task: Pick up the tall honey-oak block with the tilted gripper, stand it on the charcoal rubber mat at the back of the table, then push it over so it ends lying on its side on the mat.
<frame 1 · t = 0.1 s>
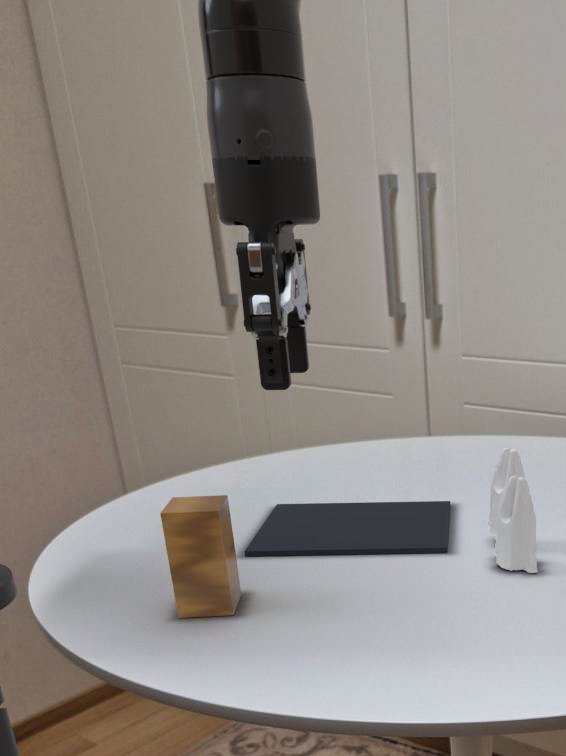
hand: (287, 380, 72), 21 cm above the table, tool pointing down, fingers open, 8 cm apart
rubber mat: (355, 528, 105), on the table
shaker set: (512, 556, 96), on the table
oak block: (210, 606, 84), on the table
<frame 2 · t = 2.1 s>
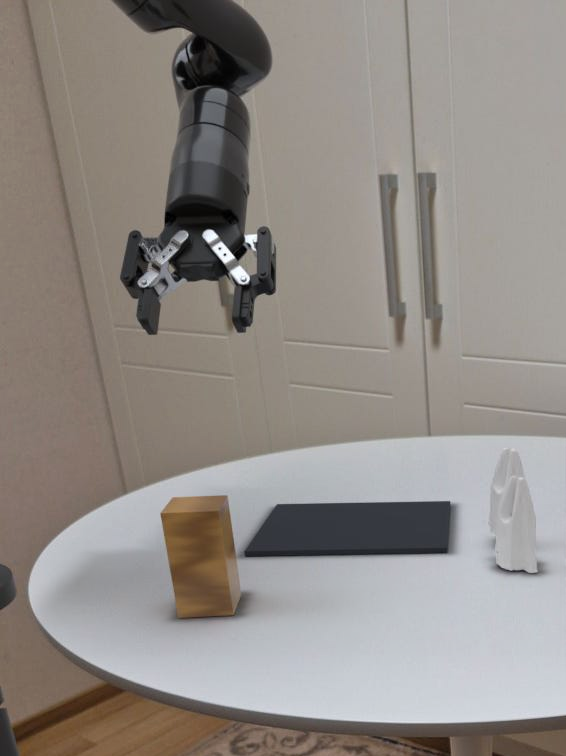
hand: (193, 328, 83), 24 cm above the table, tool tilted 40°, fingers open, 8 cm apart
nothing on the table moved.
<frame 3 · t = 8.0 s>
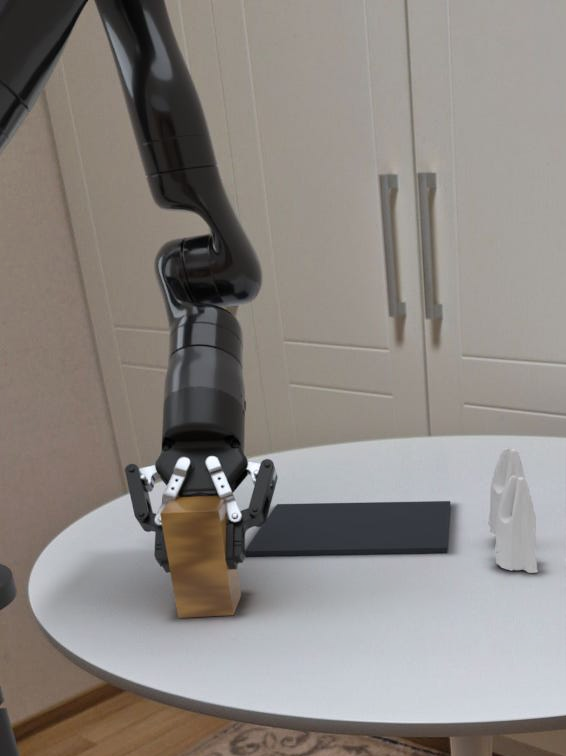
hand: (200, 566, 80), 5 cm above the table, tool tilted 45°, fingers closed on oak block, 5 cm apart
oak block: (210, 606, 84), on the table, touching gripper
everything else where it was.
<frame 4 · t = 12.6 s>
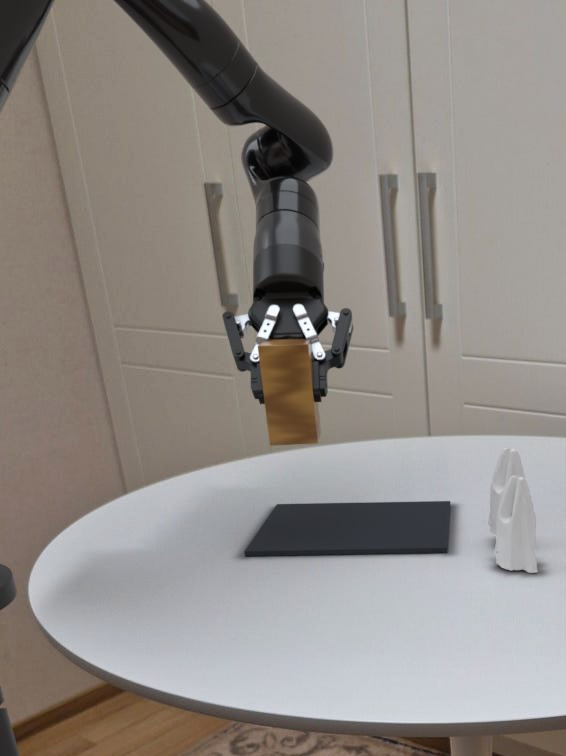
hand: (289, 398, 92), 16 cm above the table, tool tilted 45°, fingers closed on oak block, 5 cm apart
oak block: (296, 439, 95), point 12 cm above the table, touching gripper
everything else where it was.
when the fingers open (5 cm above the table, at t = 17.3 s): oak block stays where it is, resting on rubber mat.
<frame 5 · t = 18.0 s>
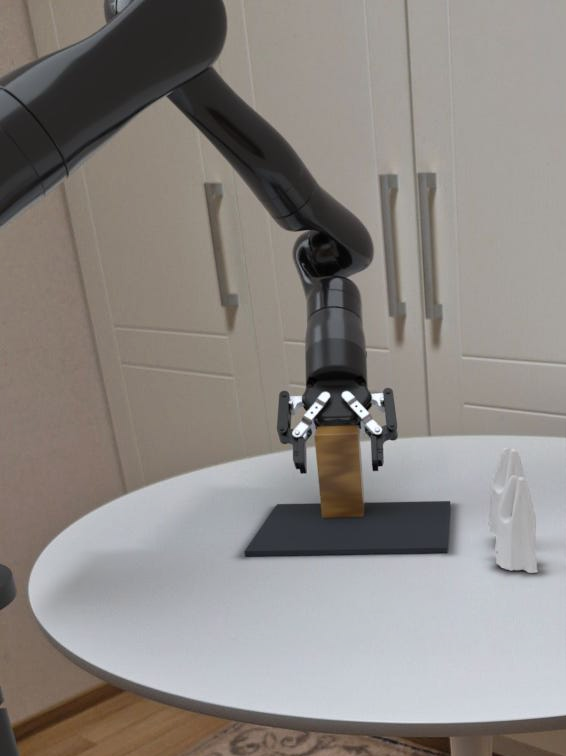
hand: (339, 469, 105), 6 cm above the table, tool tilted 45°, fingers open, 8 cm apart
oak block: (343, 511, 109), point 1 cm above the table, touching rubber mat
everything else where it was.
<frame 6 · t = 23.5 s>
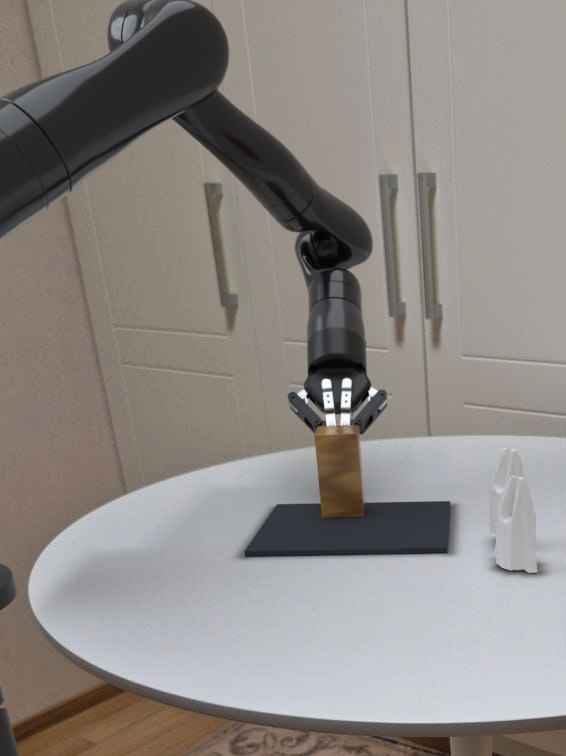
hand: (340, 460, 109), 6 cm above the table, tool tilted 45°, fingers closed
oak block: (343, 511, 109), point 1 cm above the table, touching gripper, rubber mat
everything else where it was.
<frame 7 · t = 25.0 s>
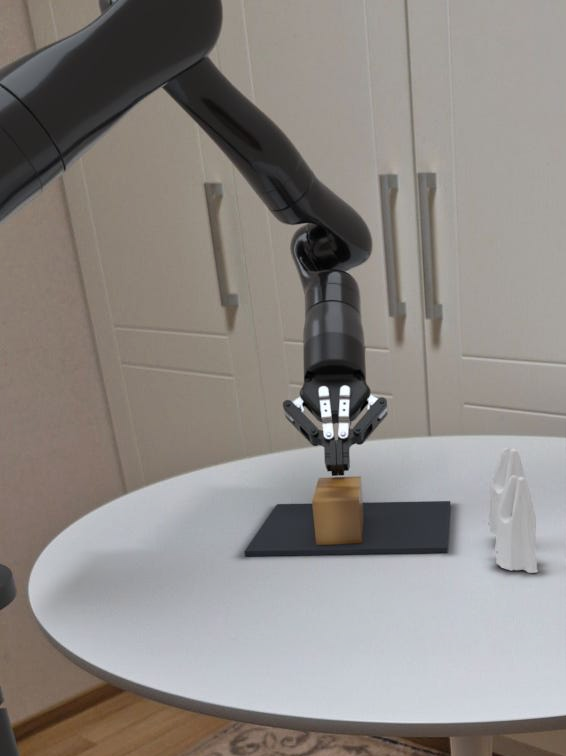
hand: (337, 472, 104), 6 cm above the table, tool tilted 45°, fingers closed
oak block: (341, 497, 106), point 3 cm above the table, tilted 90°, touching rubber mat
everything else where it was.
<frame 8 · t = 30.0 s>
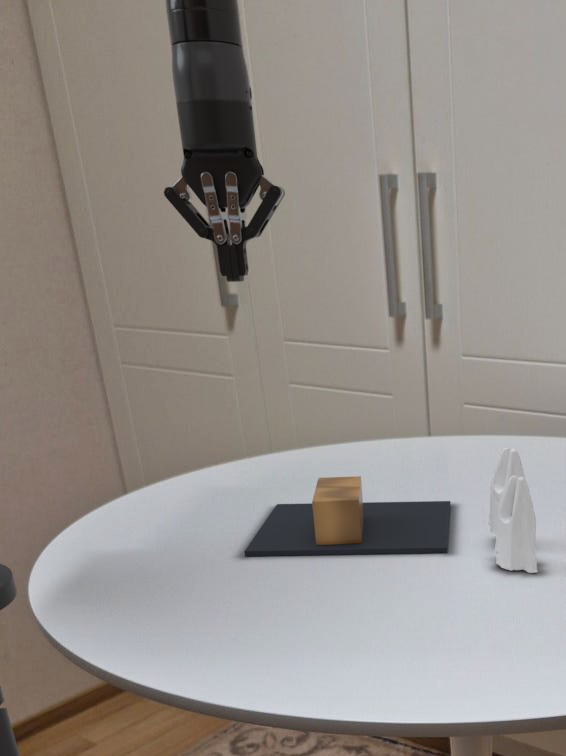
hand: (235, 281, 99), 27 cm above the table, tool pointing down, fingers closed
nothing on the table moved.
at the end: oak block tilted 90°; oak block inside the target area on the rubber mat (3.2 cm from its centre), point 3.1 cm above the rubber mat's base; the gripper is holding nothing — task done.
